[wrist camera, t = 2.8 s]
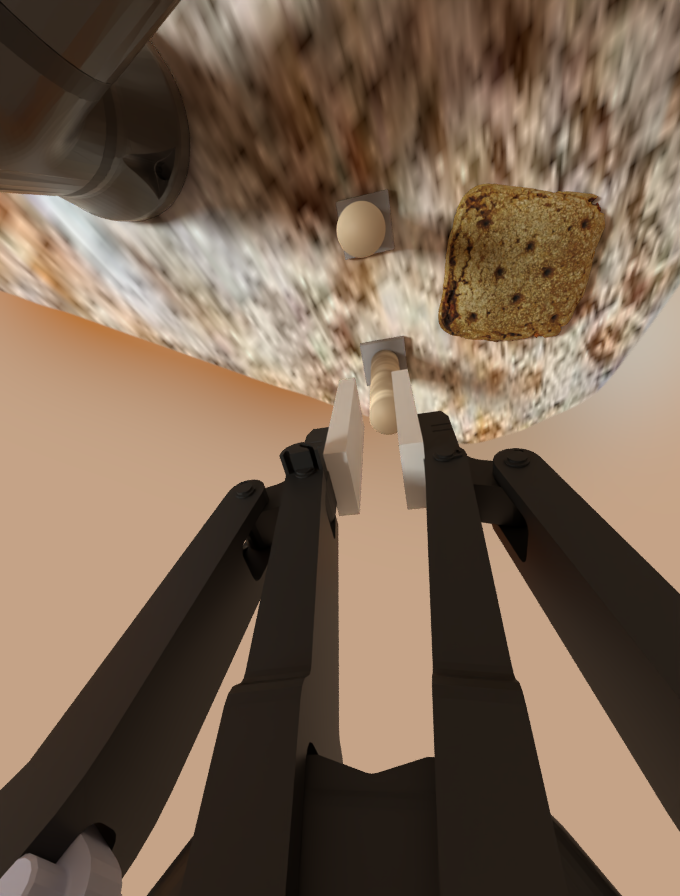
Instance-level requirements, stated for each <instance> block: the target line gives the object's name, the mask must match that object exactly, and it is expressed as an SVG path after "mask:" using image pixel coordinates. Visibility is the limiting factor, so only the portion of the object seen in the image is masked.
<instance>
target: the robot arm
mask: <svg viewBox="0 0 680 896" xmlns="http://www.w3.org/2000/svg"><path fill="white" fill-rule="evenodd" d="M180 1H181V0H0V192H1V193H18V194H34V195H49V196H59V197H61V198H63V199H65V200H67V201H69V202H71V203H72V204H74V205H76V206H78V207H79V208H81V209H83V210H85V211H87V212H89V213H91V214H93V215H95V216H98V217H101V218H105V219H109V220H114V221H142V220H147V219H150V218H153V217H155V216H157V215H159V214H161V213H162V212H164V211H165V210H166V209H167V208H168V207H169V206H170V205H171V204H172V203H173V202H174V201H175V199H176V198H177V196H178V195H179V193H180V191H181V189H182V187H183V184H184V182H185V179H186V175H187V171H188V166H189V158H190V137H189V127H188V122H187V116H186V112H185V108H184V105H183V101H182V98H181V96H180V93H179V90H178V88H177V85H176V83H175V81H174V79H173V77H172V75H171V73H170V71H169V69H168V67H167V66H166V64H165V62H164V61H163V59H162V58H161V56H160V55H159V53H158V52H157V50H156V49H155V48H154V46H153V45H152V44H151V43H150V42H149V39H150V38H151V37H152V36H153V35H154V33H155V32H156V31H157V30H158V28H159V27H160V26H161V25H162V23H163V22H164V21H165V20H166V18H167V17H168V16H169V15H170V14H171V12H172V11H173V10H174V9H175V7H176V6H177V5H178V4H179V2H180ZM391 374H392V383H393V393H394V402H395V412H396V422H397V431H398V441H399V449H400V456H401V463H402V471H403V479H404V486H405V494H406V500H407V508H408V509H419V508H427V532H428V557H429V582H430V607H431V631H432V656H433V674H432V697H433V724H434V750H435V751H434V752H435V757H426V758H423V759H420V760H416V761H413V762H410V763H407V764H404V765H401V766H398V767H394V768H391V769H388V770H385V771H382V772H379V773H375V774H369V773H365V772H363V771H360V770H357V769H355V768H352V767H349V766H347V765H344V764H343V760H342V753H341V746H340V740H339V667H338V666H339V661H338V660H339V655H338V654H339V644H338V643H339V637H338V635H339V630H338V523H337V519H336V515H335V514H336V507H337V509H338V512H339V516H344V515H355V514H360V499H361V480H362V461H363V441H364V423H363V418H362V412H361V407H360V401H359V396H358V391H357V385H356V380H355V378H348V379H342V380H339V385H338V389H337V394H336V398H335V403H334V407H333V412H332V416H331V421H330V425H329V427H326V428H320V429H313V430H312V431H311V432H310V433H309V434H308V435H307V437H306V440H305V442H301V443H297V444H293V445H291V446H289V447H287V448H286V449H284V450H283V451H282V452H281V454H280V459H281V462H282V465H283V468H284V470H285V474H286V478H285V481H284V482H282V483H279V484H277V485H274V486H271V487H268V488H265V486H264V484H263V482H261V481H260V480H247V481H244V482H241V483H239V484H238V485H236V486H234V487H233V488H232V489H231V490H230V491H229V492H228V494H227V495H226V496H225V498H224V499H223V500H222V501H221V503H220V504H219V505H218V507H217V508H216V510H215V511H214V512H213V514H212V515H211V516H210V518H209V519H208V520H207V522H206V523H205V524H204V526H203V527H202V529H201V530H200V531H199V533H198V534H197V535H196V537H195V538H194V540H193V541H192V542H191V543H190V545H189V546H188V547H187V549H186V550H185V552H184V553H183V554H182V556H181V557H180V558H179V560H178V561H177V562H176V564H175V565H174V566H173V568H172V569H171V570H170V572H169V573H168V574H167V576H166V577H165V579H164V580H163V581H162V583H161V584H160V585H159V587H158V588H157V589H156V591H155V592H154V594H153V595H152V596H151V598H150V599H149V600H148V602H147V603H146V604H145V606H144V607H143V608H142V610H141V611H140V613H139V614H138V615H137V617H136V618H135V619H134V621H133V622H132V623H131V625H130V626H129V627H128V629H127V630H126V631H125V633H124V634H123V636H122V637H121V638H120V639H119V641H118V642H117V644H116V645H115V646H114V648H113V649H112V650H111V652H110V653H109V654H108V656H107V657H106V658H105V660H104V661H103V662H102V664H101V665H100V667H99V668H98V669H97V671H96V672H95V673H94V675H93V676H92V677H91V679H90V680H89V681H88V683H87V684H86V685H85V687H84V688H83V689H82V691H81V692H80V694H79V695H78V696H77V698H76V699H75V701H74V702H73V703H72V704H71V706H70V707H69V708H68V710H67V711H66V712H65V714H64V715H63V717H62V718H61V719H60V721H59V722H58V723H57V725H56V726H55V728H54V729H53V730H52V731H51V733H50V734H49V735H48V737H47V738H46V740H45V741H44V742H43V744H42V745H41V746H40V748H39V749H38V751H37V752H36V753H35V754H34V756H33V757H32V758H31V760H30V761H29V762H28V763H27V764H26V765H25V766H24V767H23V768H22V769H21V770H20V771H19V772H18V773H17V774H16V775H15V776H14V777H13V778H12V779H11V780H10V781H9V782H8V783H7V784H6V785H5V786H4V787H3V788H2V789H1V790H0V896H122V894H121V888H122V878H123V877H124V875H125V874H126V872H127V871H128V869H129V867H130V866H131V865H132V863H133V862H134V860H135V858H136V857H137V855H138V853H139V852H140V850H141V848H142V847H143V845H144V843H145V841H146V840H147V838H148V836H149V835H150V833H151V831H152V829H153V828H154V826H155V824H156V822H157V820H158V818H159V816H160V814H161V812H162V810H163V808H164V806H165V804H166V802H167V800H168V798H169V796H170V794H171V792H172V790H173V788H174V786H175V784H176V781H177V779H178V777H179V775H180V773H181V771H182V768H183V766H184V764H185V762H186V759H187V757H188V755H189V753H190V751H191V749H192V747H193V744H194V742H195V740H196V738H197V735H198V734H199V731H200V729H201V727H202V725H203V722H204V720H205V718H206V716H207V714H208V712H209V710H210V707H211V705H212V703H213V701H214V699H215V696H216V694H217V692H218V690H219V688H220V686H221V683H222V681H223V679H224V677H225V675H226V673H227V670H228V668H229V666H230V664H231V662H232V659H233V657H234V655H235V653H236V651H237V649H238V646H239V644H240V642H241V640H242V638H243V635H244V633H245V631H246V629H247V627H248V624H249V622H250V620H251V618H252V616H253V614H254V611H255V609H256V607H257V605H258V603H259V601H260V604H259V609H258V614H257V619H256V624H255V628H254V633H253V638H252V643H251V648H250V653H249V658H248V662H247V668H246V672H245V675H244V679H243V681H242V682H241V683H240V684H238V685H235V686H233V687H232V689H231V691H230V692H229V694H228V696H227V699H226V702H225V705H224V709H223V713H222V718H221V722H220V726H219V730H218V734H217V739H216V743H215V747H214V751H213V756H212V760H211V764H210V769H209V773H208V777H207V781H206V785H205V790H204V794H203V798H202V803H201V806H200V811H199V815H198V820H197V824H196V828H195V832H194V836H193V837H192V838H191V839H190V841H189V842H188V843H187V845H186V846H185V847H184V849H183V850H182V851H181V852H180V854H179V855H178V856H177V857H176V859H175V860H174V861H173V863H172V864H171V865H170V866H169V868H168V869H167V870H166V872H165V873H164V875H162V877H161V878H160V879H159V881H158V882H157V883H156V884H155V886H154V887H153V888H152V890H151V891H150V892H149V893H148V895H147V896H622V895H621V894H620V893H619V892H618V891H617V889H616V888H615V887H614V886H613V885H612V884H611V882H610V881H609V880H608V879H607V878H606V876H605V875H604V874H603V873H602V872H601V870H600V869H599V868H598V867H597V866H596V865H595V863H594V862H593V861H592V860H591V859H590V857H589V856H588V855H587V854H586V853H585V852H584V850H583V849H582V848H581V847H580V846H579V844H578V843H577V842H576V841H575V840H574V838H573V837H572V836H571V835H570V834H569V833H568V832H567V830H566V829H565V828H564V827H563V826H562V825H561V824H560V823H559V822H558V821H557V820H556V819H555V818H554V817H553V816H552V815H551V814H550V810H549V805H548V801H547V796H546V792H545V787H544V783H543V778H542V774H541V769H540V765H539V760H538V756H537V752H536V747H535V743H534V738H533V734H532V730H531V725H530V721H529V716H528V712H527V707H526V703H525V699H524V695H523V691H522V689H521V686H520V683H519V682H518V681H517V680H516V679H515V676H514V673H513V669H512V665H511V660H510V656H509V651H508V646H507V641H506V637H505V632H504V627H503V622H502V618H501V613H500V608H499V604H498V599H497V594H496V589H495V585H494V580H493V576H492V571H491V566H490V561H489V557H488V552H487V548H486V543H485V538H484V533H483V528H482V524H481V522H483V523H490V524H492V526H493V529H494V531H495V532H496V534H497V536H498V537H499V539H500V540H501V542H502V544H503V545H504V547H505V549H506V550H507V552H508V553H509V555H510V557H511V558H512V560H513V561H514V563H515V565H516V567H517V568H518V570H519V572H520V573H521V575H522V576H523V578H524V579H525V581H526V583H527V584H528V586H529V588H530V589H531V591H532V593H533V594H534V596H535V597H536V599H537V601H538V603H539V604H540V606H541V607H542V609H543V610H544V612H545V614H546V615H547V617H548V619H549V620H550V622H551V624H552V625H553V627H554V629H555V630H556V632H557V633H558V635H559V637H560V638H561V640H562V642H563V643H564V645H565V647H566V648H567V650H568V651H569V653H570V655H571V656H572V658H573V659H574V661H575V663H576V664H577V666H578V668H579V669H580V671H581V672H582V674H583V676H584V678H585V679H586V681H587V682H588V684H589V686H590V687H591V689H592V691H593V692H594V694H595V695H596V697H597V699H598V700H599V702H600V704H601V705H602V707H603V708H604V710H605V712H606V713H607V715H608V717H609V718H610V720H611V722H612V723H613V725H614V726H615V728H616V730H617V731H618V733H619V735H620V736H621V738H622V740H623V741H624V743H625V744H626V746H627V748H628V749H629V751H630V753H631V754H632V756H633V757H634V759H635V761H636V762H637V764H638V766H639V767H640V769H641V771H642V772H643V774H644V775H645V777H646V779H647V780H648V782H649V783H650V785H651V787H652V788H653V790H654V792H655V793H656V795H657V797H658V798H659V800H660V801H661V803H662V805H663V806H664V808H665V810H666V811H667V813H668V814H669V816H670V818H671V819H672V821H673V822H674V824H675V825H676V827H677V828H678V830H679V831H680V594H679V593H678V592H677V591H676V590H675V589H674V588H673V587H672V586H671V585H670V584H669V583H668V582H667V581H666V580H665V579H664V578H663V577H662V576H661V575H660V574H659V573H658V572H657V571H656V570H655V569H654V568H653V567H652V566H651V565H650V564H649V563H648V562H647V561H646V560H645V559H644V558H643V557H642V556H640V554H639V553H638V552H637V551H636V550H635V549H634V548H632V547H631V546H630V545H629V544H628V543H627V542H626V541H625V540H624V539H623V538H622V537H621V536H620V535H619V534H618V533H617V532H616V531H615V530H614V529H613V528H612V527H611V526H610V525H609V524H608V523H607V522H606V521H605V520H604V519H603V518H602V517H601V516H600V515H599V514H598V513H597V512H596V511H595V510H594V509H593V508H592V507H591V506H590V505H588V503H587V502H586V501H585V500H584V499H583V498H582V497H581V496H580V495H578V494H577V493H576V492H575V491H574V490H573V489H572V488H571V487H570V486H569V485H568V484H567V483H566V482H565V481H564V480H563V479H562V478H561V477H560V476H559V475H558V474H557V473H556V472H555V471H554V470H553V469H552V468H551V467H550V466H549V465H548V464H547V463H546V462H545V461H544V460H543V459H542V458H541V457H540V456H538V455H537V454H536V453H534V452H532V451H529V450H526V449H519V448H513V449H505V450H502V451H499V452H498V453H497V454H496V455H495V456H494V458H493V461H487V460H478V459H474V458H470V457H469V456H467V454H466V452H465V451H464V449H462V448H460V447H459V444H458V441H457V439H456V436H455V433H454V431H453V428H452V425H451V422H450V420H449V417H448V416H447V415H446V414H444V413H443V412H442V411H436V412H429V413H422V414H417V411H416V406H415V401H414V397H413V392H412V387H411V383H410V378H409V373H408V369H405V370H399V371H392V372H391ZM245 540H246V542H245ZM244 542H245V543H244Z"/></svg>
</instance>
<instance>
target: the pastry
mask: <svg viewBox="0 0 680 896" xmlns="http://www.w3.org/2000/svg"><path fill="white" fill-rule="evenodd" d="M597 197H598V196H596V195H594V194H586V193H579V192H569V191H566V192H560V191H558V192H556V193H552V192H549V191H543V190H537V189H532V188H523V187H514V186H507V185H498V184H483V185H478V186H476V187H474V188H473V189H470V191H469V192H468V193H467V194H465V196H464V197H463V198H462V200H461V202H460V204H459V206H458V208H457V212H456V215H455V217H454V223H453V228H452V230H451V232H450V236H449V239H448V246H447V253H446V258H445V259H446V263H445V277H444V284H443V294H442V299H441V303H440V307H439V314H438V319H439V324H440V327H441V328H442V329H443V330H444V331H445V332H447V333H449V334H450V335H454V336H460V337H464V338H465V339H472V340H483V339H484V340H487V341H494V342H498V341H499V340H505V341H509V340H512V341H513V340H516V339H525V338H528V337H531V336H532V335H534V336H535V337H536V338H537V337H538V336H543V337H544V338H546V337H552V336H556V335H558V334H559V333H560V331H561V327H562V326H564V325H566V324H568V322H569V321H570V319H571V318H572V316H573V313H574V310H575V307H576V306H577V305H578V303H579V302H580V300H581V298H582V297H583V295H584V292H585V290H586V285H587V282H588V279H589V275H590V271H591V266H592V262H593V257H594V254H595V251H594V250H595V248H596V247H597V245H598V242H599V240H600V237H601V235H602V232H603V230H604V228H605V218H604V216H605V214H603V213H601V212H600V211H601V208H600V207H599V204H598V203H596V204H595V205H593V204H592V202H593V201H594V200H595V199H596V198H597Z"/></svg>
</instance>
